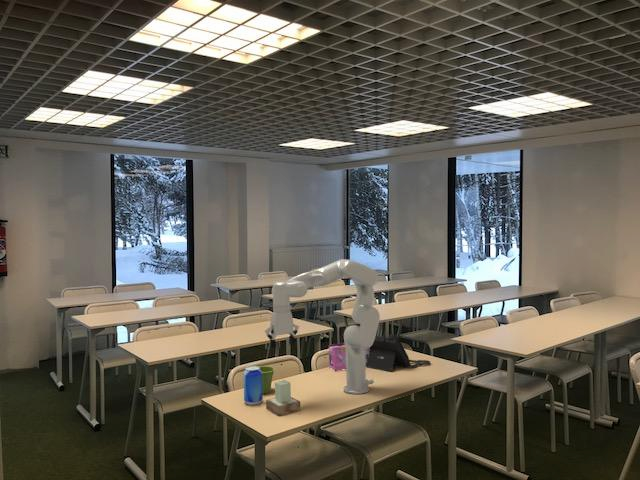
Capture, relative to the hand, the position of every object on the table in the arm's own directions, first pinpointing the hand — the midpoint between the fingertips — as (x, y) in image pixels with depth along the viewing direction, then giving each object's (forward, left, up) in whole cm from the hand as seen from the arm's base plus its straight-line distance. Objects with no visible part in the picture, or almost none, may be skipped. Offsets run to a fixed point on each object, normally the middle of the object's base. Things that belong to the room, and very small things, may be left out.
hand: (282, 346), depth 233 cm
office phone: (-85, -16, -26) cm, 90 cm away
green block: (+4, +6, -22) cm, 23 cm away
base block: (+4, +6, -26) cm, 27 cm away
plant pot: (-1, -22, -26) cm, 34 cm away
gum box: (-61, -30, -27) cm, 73 cm away
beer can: (+10, -11, -26) cm, 30 cm away
